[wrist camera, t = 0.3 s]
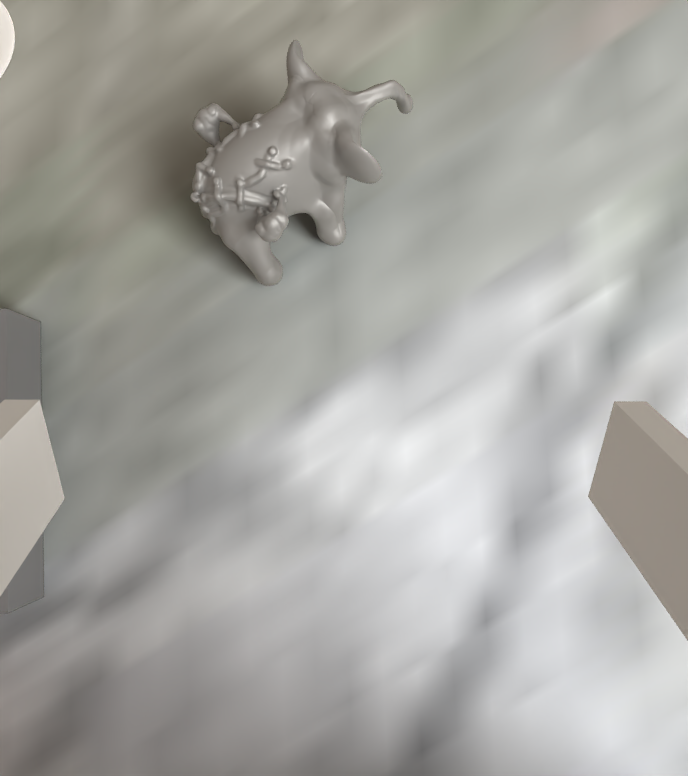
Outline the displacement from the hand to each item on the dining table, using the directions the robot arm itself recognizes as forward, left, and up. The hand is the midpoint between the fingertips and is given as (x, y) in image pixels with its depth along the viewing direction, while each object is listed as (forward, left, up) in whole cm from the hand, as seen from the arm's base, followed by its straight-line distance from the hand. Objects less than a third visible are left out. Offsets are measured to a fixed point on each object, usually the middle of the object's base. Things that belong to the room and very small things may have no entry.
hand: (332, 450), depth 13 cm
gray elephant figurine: (+15, +1, -17) cm, 23 cm away
